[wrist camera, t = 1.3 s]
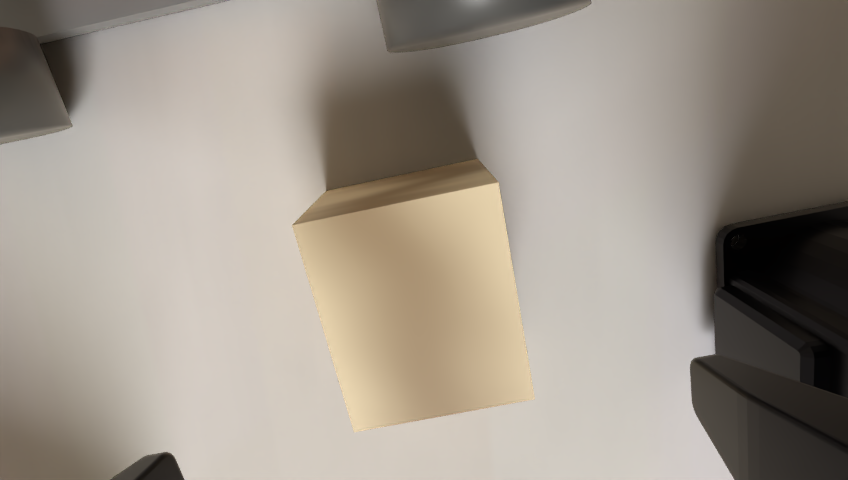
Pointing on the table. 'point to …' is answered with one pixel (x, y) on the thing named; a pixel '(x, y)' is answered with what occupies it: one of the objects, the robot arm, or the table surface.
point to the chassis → (127, 3)
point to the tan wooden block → (417, 295)
